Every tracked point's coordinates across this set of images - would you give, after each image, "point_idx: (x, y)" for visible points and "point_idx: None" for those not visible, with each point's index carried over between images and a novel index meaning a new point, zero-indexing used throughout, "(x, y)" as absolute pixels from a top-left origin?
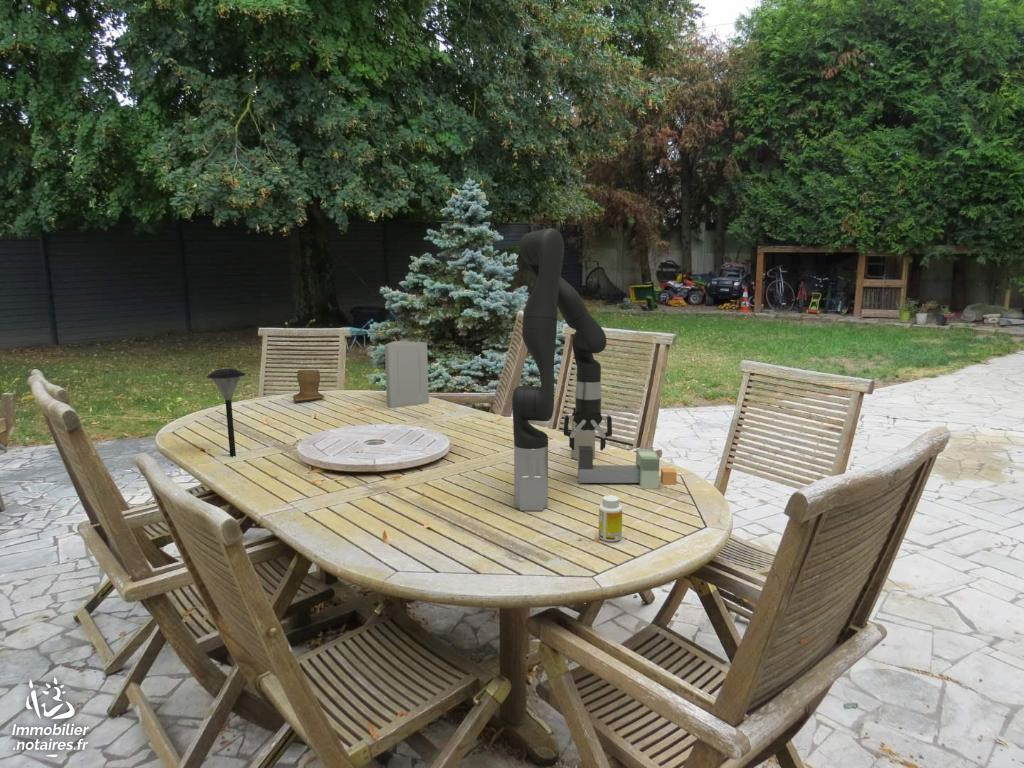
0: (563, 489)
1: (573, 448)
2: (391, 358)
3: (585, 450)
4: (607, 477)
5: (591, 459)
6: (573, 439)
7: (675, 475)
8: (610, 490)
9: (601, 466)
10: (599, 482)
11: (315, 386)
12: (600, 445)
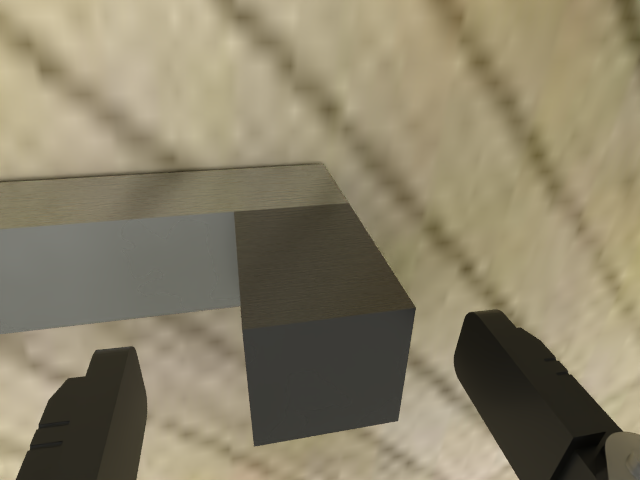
0: (433, 60)
1: (488, 318)
2: None
3: (339, 312)
4: (108, 190)
5: (251, 257)
6: (571, 416)
7: None
8: (81, 40)
9: (157, 288)
10: (178, 173)
11: None
12: (133, 429)
